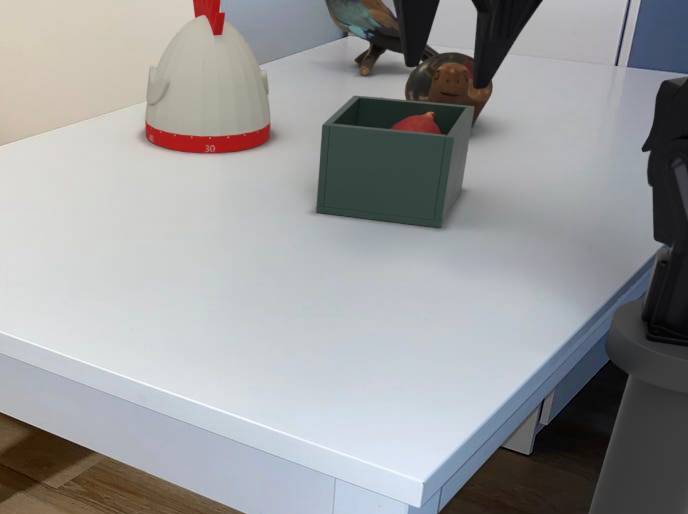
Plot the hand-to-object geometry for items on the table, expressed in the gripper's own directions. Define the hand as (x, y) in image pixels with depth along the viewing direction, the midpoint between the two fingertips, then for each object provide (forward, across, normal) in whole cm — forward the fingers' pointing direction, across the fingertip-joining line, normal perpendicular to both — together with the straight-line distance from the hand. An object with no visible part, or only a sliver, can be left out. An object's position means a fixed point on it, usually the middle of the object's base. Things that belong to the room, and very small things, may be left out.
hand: (444, 77), depth 79 cm
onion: (+11, -8, +2) cm, 13 cm away
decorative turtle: (+12, -29, +22) cm, 38 cm away
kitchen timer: (+12, -36, -4) cm, 39 cm away
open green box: (+12, -9, +2) cm, 15 cm away
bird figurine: (+12, -58, +31) cm, 67 cm away
